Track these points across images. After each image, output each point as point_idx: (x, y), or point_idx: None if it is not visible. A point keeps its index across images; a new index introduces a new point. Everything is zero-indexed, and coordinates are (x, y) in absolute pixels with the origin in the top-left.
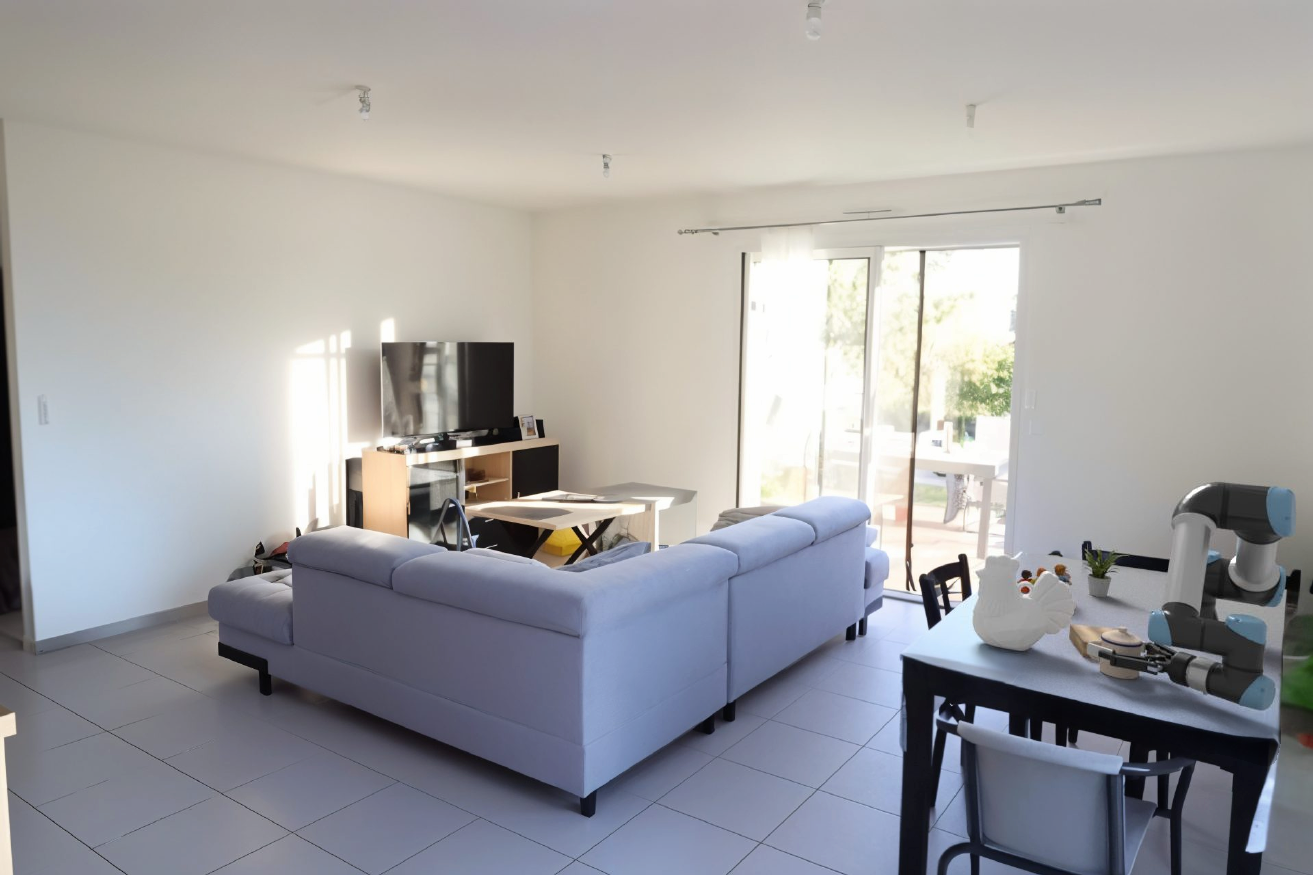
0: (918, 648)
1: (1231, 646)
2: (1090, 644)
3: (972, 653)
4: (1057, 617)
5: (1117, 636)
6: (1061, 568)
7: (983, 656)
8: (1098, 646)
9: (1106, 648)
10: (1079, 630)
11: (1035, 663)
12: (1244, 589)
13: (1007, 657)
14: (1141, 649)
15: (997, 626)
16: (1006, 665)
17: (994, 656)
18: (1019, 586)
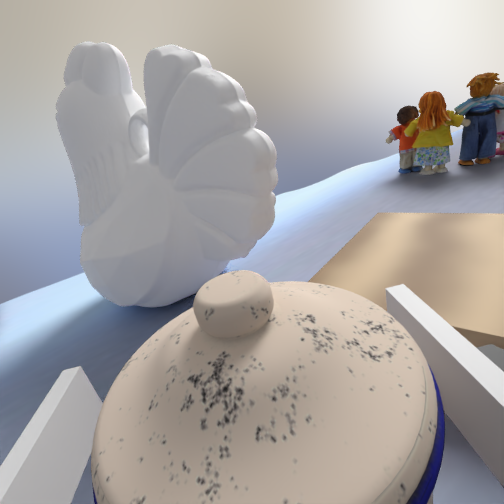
0: (37, 290)
1: None
2: (54, 386)
3: (74, 308)
4: (208, 210)
5: (147, 376)
6: (480, 80)
7: (69, 320)
8: (26, 429)
9: (2, 483)
10: (370, 234)
11: (108, 365)
12: None
13: (102, 327)
14: (501, 465)
15: (81, 250)
16: (31, 366)
17: (87, 321)
18: (128, 130)
